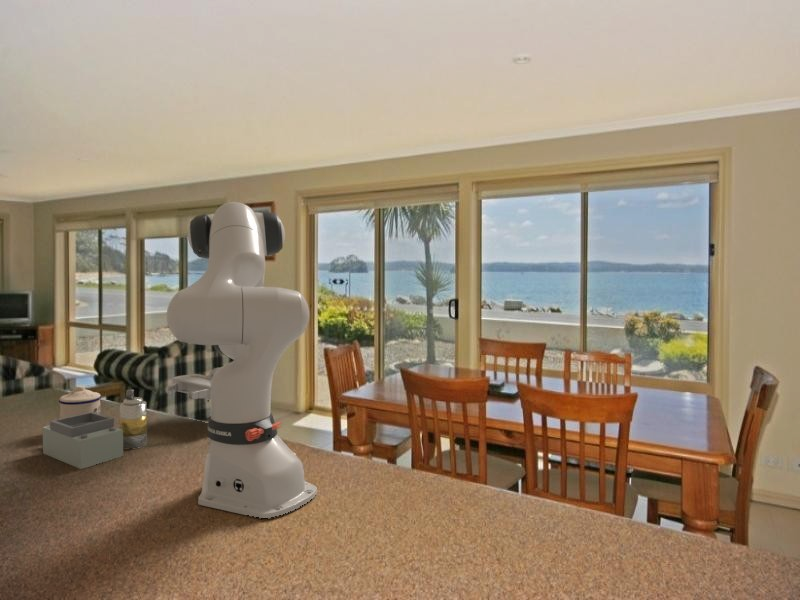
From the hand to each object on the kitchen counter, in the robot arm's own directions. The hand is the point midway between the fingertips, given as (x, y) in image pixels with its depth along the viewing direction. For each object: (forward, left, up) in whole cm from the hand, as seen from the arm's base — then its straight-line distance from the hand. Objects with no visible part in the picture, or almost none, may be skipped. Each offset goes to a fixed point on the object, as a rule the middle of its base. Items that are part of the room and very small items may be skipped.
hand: (178, 393), depth 134 cm
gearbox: (+5, +22, -10) cm, 25 cm away
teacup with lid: (+21, +13, -10) cm, 27 cm away
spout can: (0, +12, -10) cm, 16 cm away
